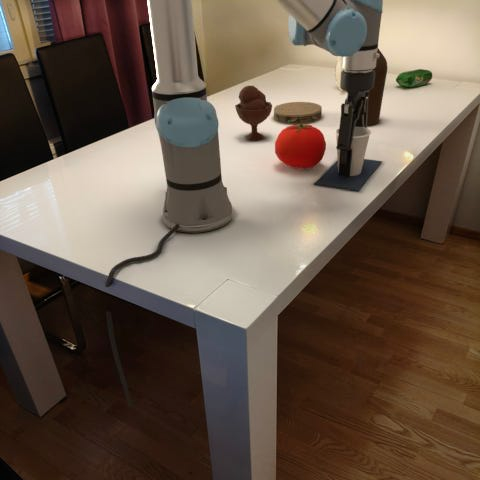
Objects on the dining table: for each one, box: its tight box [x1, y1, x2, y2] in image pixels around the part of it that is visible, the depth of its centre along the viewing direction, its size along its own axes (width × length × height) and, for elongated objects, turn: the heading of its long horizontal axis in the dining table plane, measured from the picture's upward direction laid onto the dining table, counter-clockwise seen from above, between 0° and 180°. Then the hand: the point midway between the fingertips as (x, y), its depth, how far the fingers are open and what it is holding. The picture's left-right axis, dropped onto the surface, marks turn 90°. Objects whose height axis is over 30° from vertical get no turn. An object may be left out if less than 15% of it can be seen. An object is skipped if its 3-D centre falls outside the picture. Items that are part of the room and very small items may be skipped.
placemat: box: [313, 158, 383, 192], centre depth 123 cm, size 20×11×1 cm, turn 152°
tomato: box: [274, 124, 327, 170], centre depth 125 cm, size 13×12×11 cm
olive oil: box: [367, 48, 388, 127], centre depth 148 cm, size 11×11×25 cm
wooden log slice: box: [273, 101, 323, 126], centre depth 163 cm, size 16×16×3 cm
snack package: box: [395, 68, 433, 88], centre depth 188 cm, size 7×16×5 cm, turn 120°
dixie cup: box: [334, 127, 372, 176], centre depth 120 cm, size 8×8×10 cm
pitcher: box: [334, 56, 345, 92], centre depth 185 cm, size 11×18×14 cm, turn 151°
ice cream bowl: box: [234, 85, 273, 142], centre depth 144 cm, size 11×11×15 cm
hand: (349, 169), depth 122 cm, fingers closed on dixie cup, 8 cm apart
